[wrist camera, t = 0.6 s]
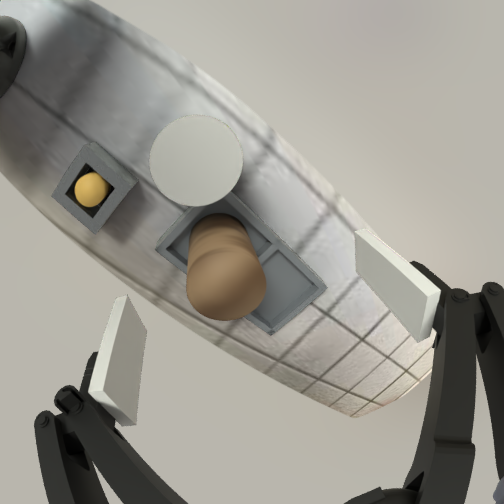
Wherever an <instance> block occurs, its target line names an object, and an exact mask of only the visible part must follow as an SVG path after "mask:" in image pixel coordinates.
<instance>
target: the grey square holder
mask: <svg viewBox="0 0 504 504" xmlns="http://www.w3.org/2000/svg"><path fill="white" fill-rule="evenodd" d="M90 167H92V168H93V169H94V170H95V171H96V172H97V173H99V174H100V175H101V176H102V177H103V178H104V179H105V180H107V181H108V182H109V183H110V184H111V185H112V186H113V187H115V189H114V191H113V192H112V193H111V194H110V196H109V197H108V198H107V200H106V201H105V203H104V204H103V205H102V207H101V208H100V207H99V206H98V205H96V206H93V207H87V206H84V205H82V204H81V203H80V202H79V201H78V200H77V198H76V195H75V186H76V183H77V181H78V180H79V179H80V178H81V177H82V176H84V175H85V174H86V172H87V171H88V169H89V168H90ZM137 181H138V179H137V178H136V177H135V176H134V175H133V174H132V173H130V172H129V171H128V170H127V169H126V168H125V167H124V166H123V165H121V164H120V163H119V162H118V161H117V160H116V159H115V158H113V157H112V156H111V155H110V154H109V153H108V152H107V151H106V150H104V149H103V148H102V147H101V146H100V145H99V144H98V143H97V142H94V143H90V144H86V145H84V147H83V148H82V149H81V151H80V152H79V154H78V155H77V157H76V158H75V159H74V161H73V162H72V164H71V165H70V167H69V168H68V170H67V172H66V173H65V175H64V176H63V178H62V179H61V181H60V183H59V184H58V186H57V188H56V189H55V191H54V193H53V194H52V197H53V198H54V199H55V200H56V201H57V202H58V203H60V204H61V205H62V206H63V207H64V208H65V209H66V210H67V211H69V212H70V213H71V214H72V215H73V216H74V217H75V218H77V219H78V220H79V221H80V222H81V223H82V224H83V225H85V226H86V227H87V228H88V229H89V230H91V231H92V232H93V233H94V234H95V235H96V234H97V232H98V231H99V230H100V229H101V227H102V226H103V225H104V224H105V222H106V221H107V220H108V218H109V217H110V216H111V214H112V213H113V212H114V210H115V209H116V208H117V206H118V205H119V204H120V203H121V201H122V200H123V199H124V197H125V196H126V195H127V194H128V192H129V191H130V190H131V189H132V188H133V186H134V185H135V184H136V183H137Z"/></svg>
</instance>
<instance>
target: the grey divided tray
mask: <svg viewBox="0 0 504 504" xmlns="http://www.w3.org/2000/svg"><path fill="white" fill-rule="evenodd" d="M213 213H225V214H229V215H232V216H234V217H236V218H237V219H238V220H240V221H241V223H242V224H243V225H244V227H245V229H246V231H247V233H248V236H249V238H250V240H251V243H252V245H253V248H254V250H255V252H256V255H257V257H258V260H259V262H260V264H261V267H262V269H263V272H264V274H265V277H266V286H267V287H266V292H265V296H264V298H263V300H262V301H261V303H260V304H259V306H258V307H257V308H256V309H255V310H253V311H252V312H251V313H249V314H248V315H246V316H244V317H245V318H246V319H248V320H249V321H251V322H252V323H253V324H255V325H256V326H258V327H259V328H261V329H262V330H263V331H265V332H266V333H268V334H269V335H273V334H274V333H275V332H276V331H277V330H279V329H280V328H281V327H282V326H284V325H285V324H286V323H287V322H288V321H290V320H291V319H292V318H293V317H294V316H296V315H297V314H298V313H299V312H300V311H301V310H303V309H304V308H305V307H306V306H307V305H309V304H310V303H311V302H312V301H313V300H314V299H315V298H317V297H318V296H319V295H320V294H321V293H322V292H323V291H325V290H326V289H327V288H328V287H327V286H326V285H325V283H324V282H323V280H322V279H321V278H320V277H319V276H318V275H317V274H316V273H315V272H314V271H313V270H312V269H311V268H310V267H309V266H308V265H307V264H306V263H305V262H304V261H303V260H302V259H301V258H300V257H299V256H298V255H297V254H296V253H295V252H294V251H293V250H292V249H291V248H290V247H289V246H288V245H287V244H286V243H285V242H284V241H283V240H282V239H281V238H280V237H279V236H278V235H277V234H276V233H275V232H273V231H272V230H271V229H270V228H269V227H268V226H267V225H266V224H265V223H264V222H263V221H262V220H261V219H260V218H259V217H258V216H257V215H256V214H255V213H254V212H253V211H252V210H251V209H250V208H249V207H248V206H247V205H245V204H244V203H243V202H242V201H241V200H240V199H239V198H238V197H237V196H236V195H235V194H234V193H233V192H232V191H230V192H229V193H228V194H227V195H225V196H224V197H223V198H221V199H220V200H218V201H216V202H214V203H211V204H208V205H204V206H190V207H189V208H188V209H187V210H186V211H185V212H184V213H183V214H182V215H181V217H180V218H179V219H178V220H177V221H176V222H175V223H174V224H173V225H172V226H171V227H170V229H169V230H168V231H167V232H166V233H165V234H164V235H163V236H162V237H161V239H160V240H159V241H158V242H157V245H156V248H155V250H156V251H157V252H158V253H159V254H161V255H162V256H163V257H165V258H166V259H167V260H168V261H170V262H171V263H172V264H173V265H175V266H176V267H177V268H179V269H180V270H181V271H183V272H184V273H185V274H186V275H187V266H188V250H189V237H190V233H191V230H192V228H193V227H194V225H195V224H196V223H197V222H198V221H199V220H200V219H201V218H203V217H205V216H207V215H210V214H213Z"/></svg>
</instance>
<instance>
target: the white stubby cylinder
mask: <svg viewBox="0 0 504 504" xmlns="http://www.w3.org/2000/svg"><path fill="white" fill-rule="evenodd" d="M149 166H150V172H151V176H152V178H153V181H154V183H155V184H156V186H157V187H158V189H159V190H160V191H161V192H162V193H163V194H164V195H165V196H166V197H168V198H169V199H171V200H172V201H174V202H176V203H179V204H182V205H186V206H204V205H208V204H211V203H214V202H216V201H218V200H220V199H221V198H223V197H224V196H225V195H227V194H228V193H229V192H230V191H231V190H232V189H233V187H234V186H235V184H236V183H237V181H238V179H239V177H240V174H241V171H242V167H243V152H242V147H241V144H240V142H239V140H238V138H237V136H236V134H235V133H234V132H233V131H232V129H231V128H230V127H229V126H227V125H226V124H225V123H223V122H222V121H220V120H218V119H216V118H214V117H210V116H206V115H189V116H185V117H181V118H179V119H177V120H175V121H173V122H171V123H170V124H168V125H167V126H166V127H165V128H164V129H163V130H162V131H161V132H160V133H159V134H158V136H157V137H156V139H155V141H154V143H153V145H152V148H151V152H150V158H149Z"/></svg>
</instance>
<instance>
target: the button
mask: <svg viewBox="0 0 504 504" xmlns="http://www.w3.org/2000/svg"><path fill="white" fill-rule="evenodd" d="M110 188H111V184H110V183H109V182H108V181H107V180H105V179H104V178H103V177H102V176H101V175H100V174H99V173H97V172H96V171H92V172H90V173H88V174H86V175H84V176H82V177H81V178H80V179H79V180H78V181H77V183H76V186H75V195H76V198H77V200H78V201H79V202H80V203H81V204H82V205H84V206H87V207H93V206H96V205H97V204H99V203H100V202H101V201H102V200H103V199H104V198H105V197H106V196H107V195H108V194H109V192H110Z"/></svg>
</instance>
